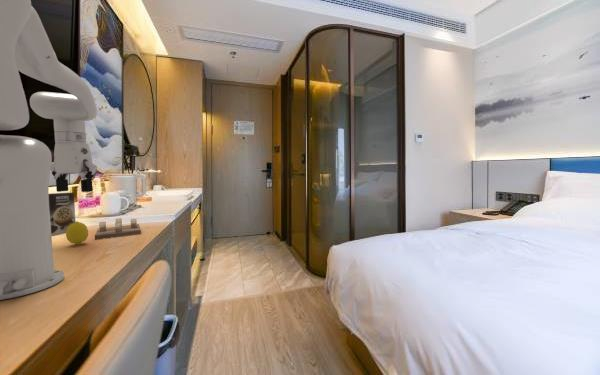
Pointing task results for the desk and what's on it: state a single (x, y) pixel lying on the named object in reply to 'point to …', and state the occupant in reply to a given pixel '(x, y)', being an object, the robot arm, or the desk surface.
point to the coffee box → (61, 212)
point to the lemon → (77, 233)
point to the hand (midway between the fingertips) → (74, 191)
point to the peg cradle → (117, 229)
